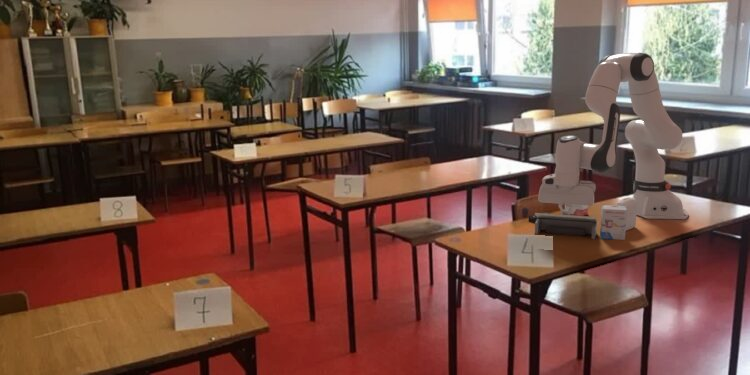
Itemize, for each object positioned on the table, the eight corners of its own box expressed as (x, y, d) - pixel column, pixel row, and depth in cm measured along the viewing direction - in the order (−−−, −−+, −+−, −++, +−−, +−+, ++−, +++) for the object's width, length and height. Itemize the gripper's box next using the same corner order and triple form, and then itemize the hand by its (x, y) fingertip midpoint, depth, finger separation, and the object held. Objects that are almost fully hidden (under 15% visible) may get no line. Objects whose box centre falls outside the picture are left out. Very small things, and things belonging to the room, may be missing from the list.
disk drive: (527, 222, 263) (554, 230, 251) (527, 215, 262) (555, 223, 250) (545, 218, 268) (573, 225, 256) (545, 211, 268) (573, 218, 255)
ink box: (600, 239, 237) (602, 208, 234) (599, 234, 241) (601, 204, 239) (625, 240, 234) (627, 209, 232) (623, 236, 239) (625, 205, 236)
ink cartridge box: (588, 214, 269) (589, 180, 266) (582, 216, 266) (583, 182, 262) (570, 210, 275) (571, 177, 272) (563, 213, 272) (565, 179, 269)
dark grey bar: (586, 235, 242) (586, 227, 242) (585, 237, 239) (585, 229, 239) (545, 232, 248) (546, 224, 248) (544, 233, 245) (545, 226, 245)
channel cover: (596, 222, 242) (597, 219, 242) (595, 219, 234) (595, 217, 234) (538, 217, 251) (538, 215, 251) (534, 214, 242) (534, 212, 242)
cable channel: (596, 233, 243) (596, 222, 242) (594, 239, 236) (595, 227, 235) (537, 228, 252) (538, 217, 251) (534, 234, 245) (535, 223, 244)
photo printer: (623, 232, 243) (624, 201, 240) (612, 230, 246) (614, 199, 243) (637, 227, 249) (639, 196, 246) (627, 225, 252) (628, 194, 250)
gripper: (596, 179, 237) (594, 215, 240) (540, 176, 244) (539, 210, 248) (595, 182, 231) (593, 219, 234) (538, 179, 239) (536, 214, 242)
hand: (565, 215), depth 241 cm, fingers closed, pressing on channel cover
